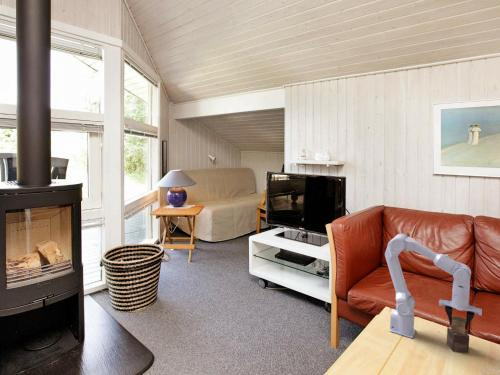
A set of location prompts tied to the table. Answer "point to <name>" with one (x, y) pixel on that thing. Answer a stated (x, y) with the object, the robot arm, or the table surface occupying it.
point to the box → (457, 341)
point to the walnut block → (458, 325)
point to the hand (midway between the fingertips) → (458, 326)
